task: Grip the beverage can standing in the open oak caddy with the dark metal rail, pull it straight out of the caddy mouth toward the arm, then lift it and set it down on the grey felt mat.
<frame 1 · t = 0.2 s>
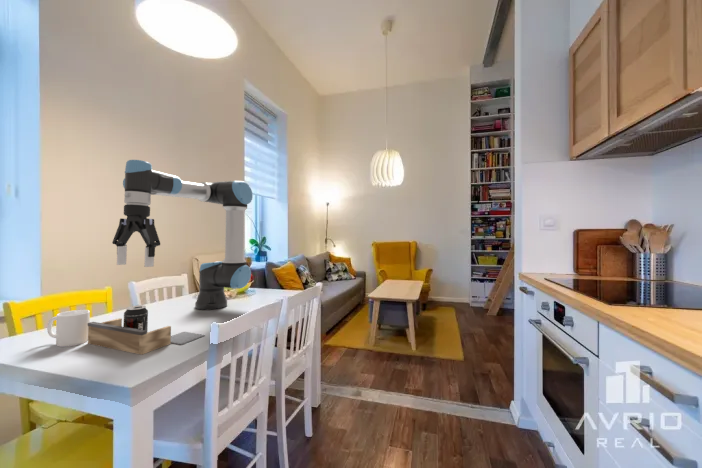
hand: (135, 265, 105), 26 cm above the table, fingers open, 13 cm apart
caddy: (129, 343, 102), on the table
beverage can: (135, 342, 104), resting in caddy
cup: (66, 343, 102), on the table
mat: (182, 338, 108), on the table
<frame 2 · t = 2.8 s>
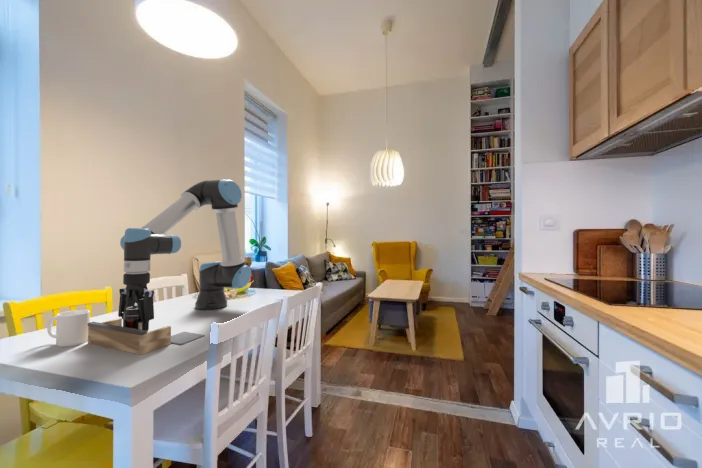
hand: (135, 338, 104), 1 cm above the table, fingers closed on beverage can, 7 cm apart
beverage can: (135, 342, 104), resting in caddy, touching gripper
everything else where it was.
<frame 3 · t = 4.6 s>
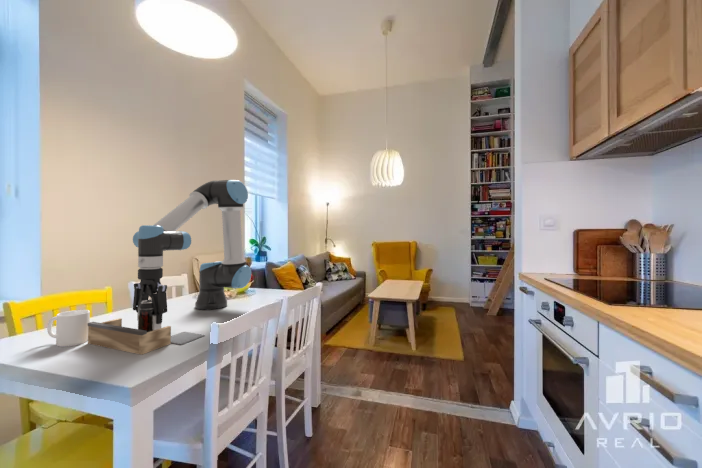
hand: (149, 331, 109), 2 cm above the table, fingers closed on beverage can, 7 cm apart
beverage can: (149, 334, 109), point 1 cm above the table, touching gripper
everything else where it was.
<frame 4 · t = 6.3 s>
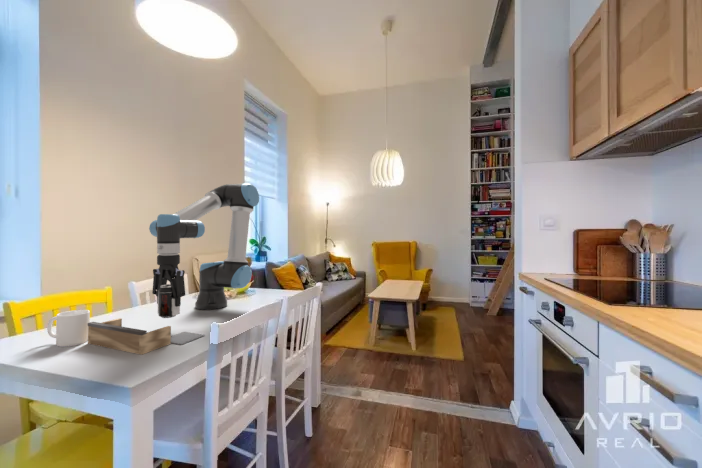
hand: (168, 313, 116), 7 cm above the table, fingers closed on beverage can, 7 cm apart
beverage can: (168, 316, 116), point 5 cm above the table, touching gripper
everything else where it was.
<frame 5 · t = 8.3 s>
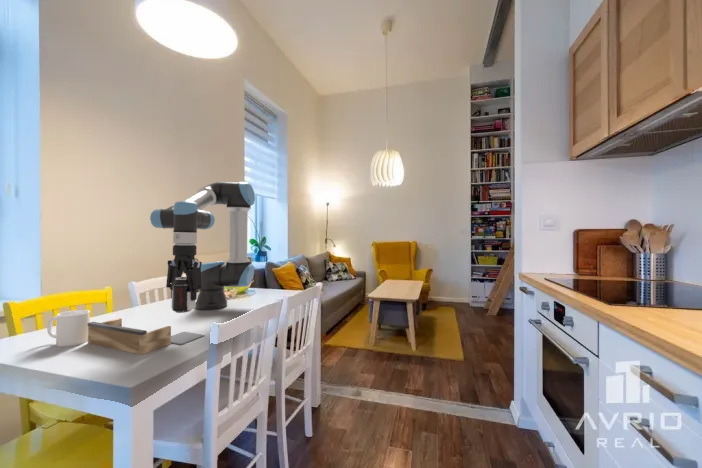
hand: (183, 308, 108), 11 cm above the table, fingers closed on beverage can, 7 cm apart
beverage can: (183, 311, 108), point 10 cm above the table, touching gripper
everything else where it was.
when the fingers open (2 cm above the table, at t = 9.8 s): beverage can drops 1 cm, resting on mat.
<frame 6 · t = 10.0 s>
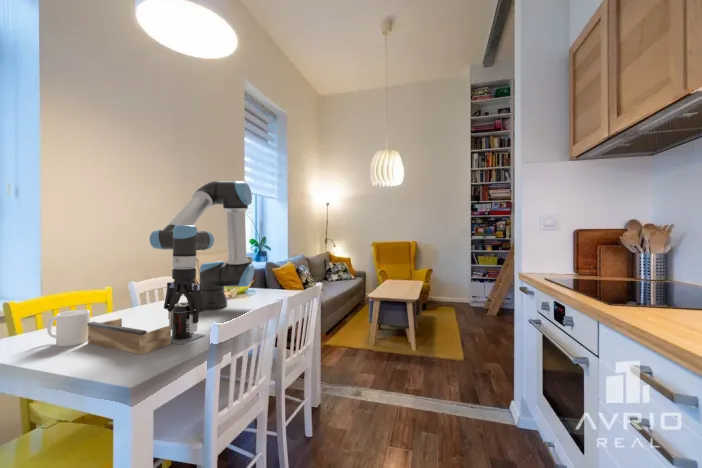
hand: (182, 330, 108), 3 cm above the table, fingers open, 9 cm apart
beverage can: (182, 337, 108), resting on mat
everything else where it was.
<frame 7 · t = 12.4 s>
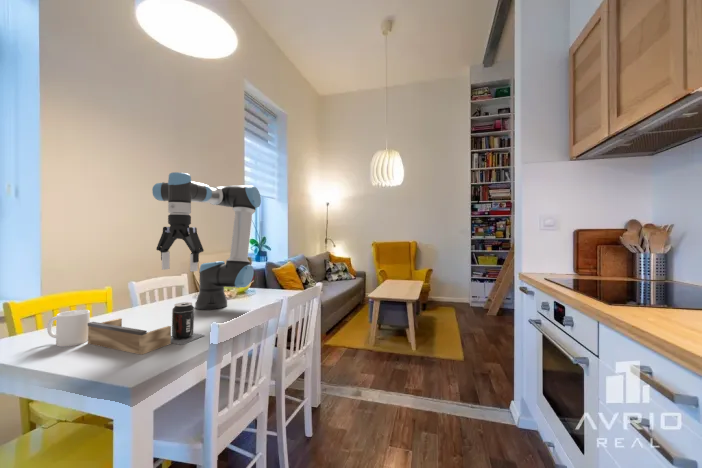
hand: (179, 270, 114), 24 cm above the table, fingers open, 13 cm apart
nothing on the table moved.
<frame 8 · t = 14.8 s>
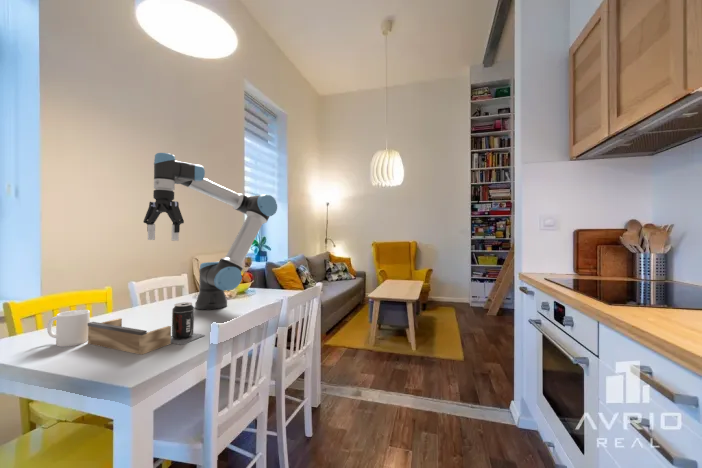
hand: (162, 240, 127), 35 cm above the table, fingers open, 13 cm apart
nothing on the table moved.
at the end: beverage can inside the target area on the mat (0.1 cm from its centre), point 0.2 cm above the mat's base; beverage can tilted 0°; the gripper is holding nothing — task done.
